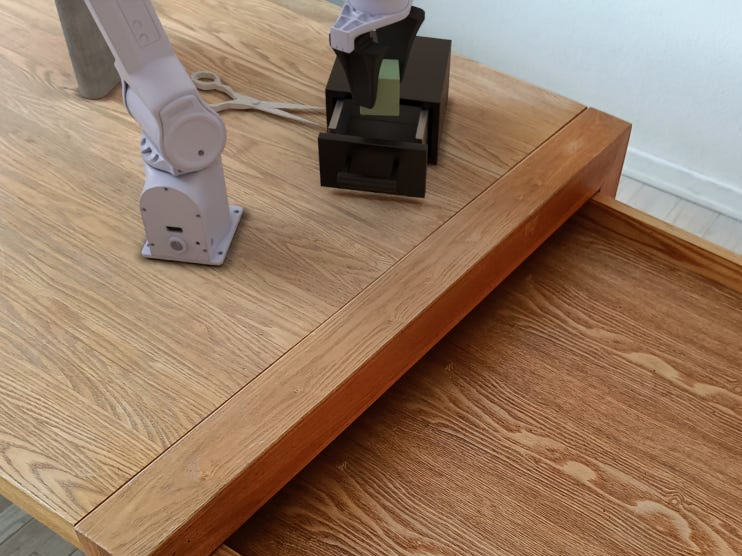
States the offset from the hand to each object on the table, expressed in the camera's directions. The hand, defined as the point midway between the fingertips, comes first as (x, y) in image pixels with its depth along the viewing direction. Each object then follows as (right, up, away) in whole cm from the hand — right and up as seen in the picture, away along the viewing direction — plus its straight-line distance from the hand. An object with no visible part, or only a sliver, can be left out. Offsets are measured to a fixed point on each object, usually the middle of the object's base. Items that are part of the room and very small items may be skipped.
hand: (378, 92), depth 92 cm
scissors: (-17, +4, +14) cm, 22 cm away
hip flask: (-35, +10, +17) cm, 40 cm away
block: (0, -1, +1) cm, 1 cm away
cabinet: (0, +2, +14) cm, 14 cm away
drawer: (-1, -6, +7) cm, 9 cm away
